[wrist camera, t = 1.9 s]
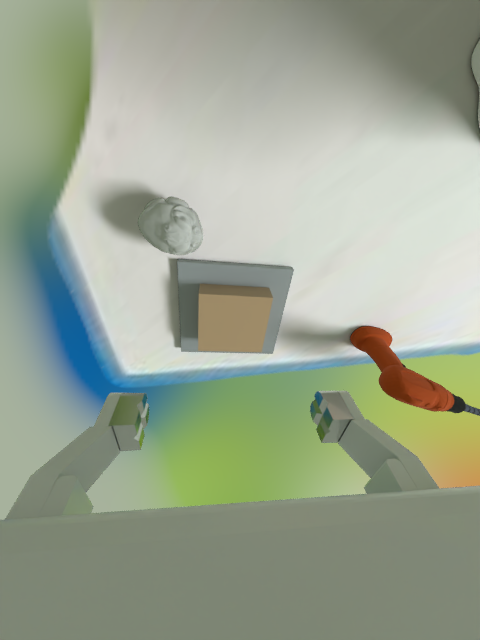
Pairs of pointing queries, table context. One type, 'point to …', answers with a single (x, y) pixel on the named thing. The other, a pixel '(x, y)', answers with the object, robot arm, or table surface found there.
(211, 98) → the table surface
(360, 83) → the table surface
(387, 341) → the toy drill
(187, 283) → the baseplate
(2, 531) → the robot arm
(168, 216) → the grey lumpy sculpture
